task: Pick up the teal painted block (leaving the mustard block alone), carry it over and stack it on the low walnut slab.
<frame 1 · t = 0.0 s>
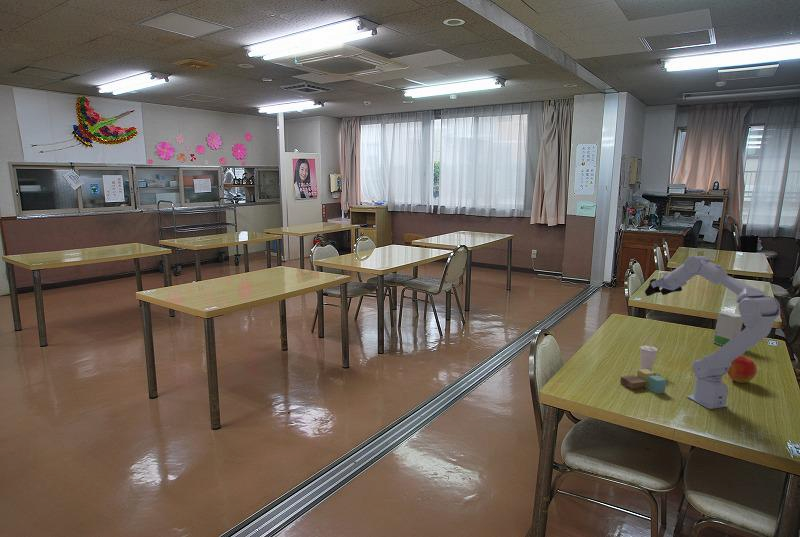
hand: (654, 293, 185), 32 cm above the table, tool tilted 50°, fingers open, 7 cm apart
mustard block: (644, 383, 178), on the table
teal block: (655, 390, 172), on the table
apple: (738, 381, 182), on the table
smoothie: (645, 371, 190), on the table
skincare box: (725, 345, 222), on the table
walnut slab: (632, 386, 176), on the table
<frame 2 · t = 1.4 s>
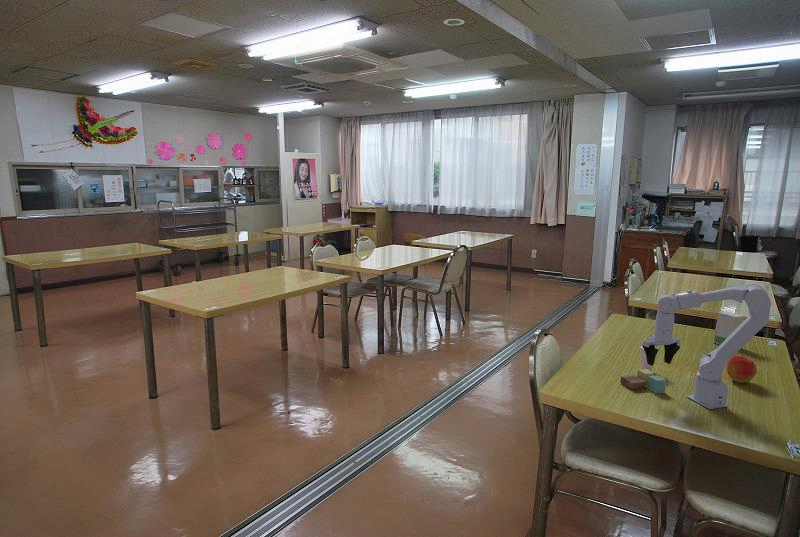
hand: (658, 363, 170), 10 cm above the table, tool pointing down, fingers open, 7 cm apart
nothing on the table moved.
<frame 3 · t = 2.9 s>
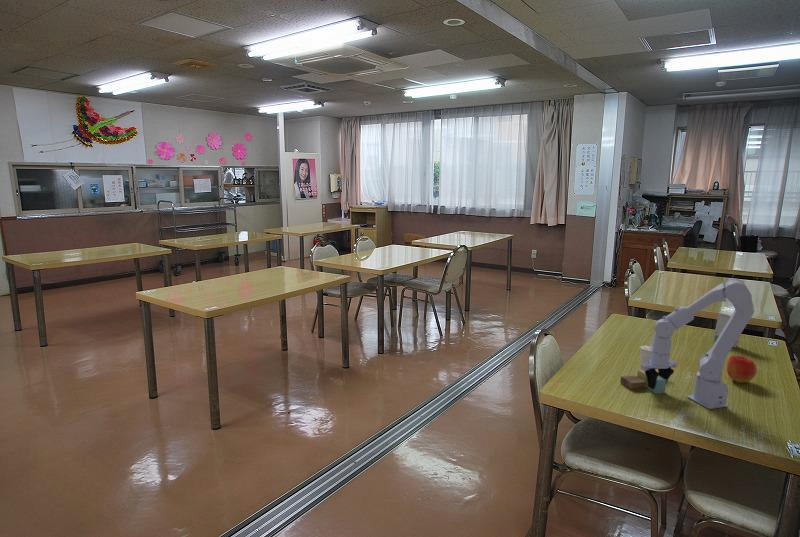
hand: (656, 386, 172), 1 cm above the table, tool pointing down, fingers closed on teal block, 4 cm apart
teal block: (655, 390, 172), on the table, touching gripper
everything else where it was.
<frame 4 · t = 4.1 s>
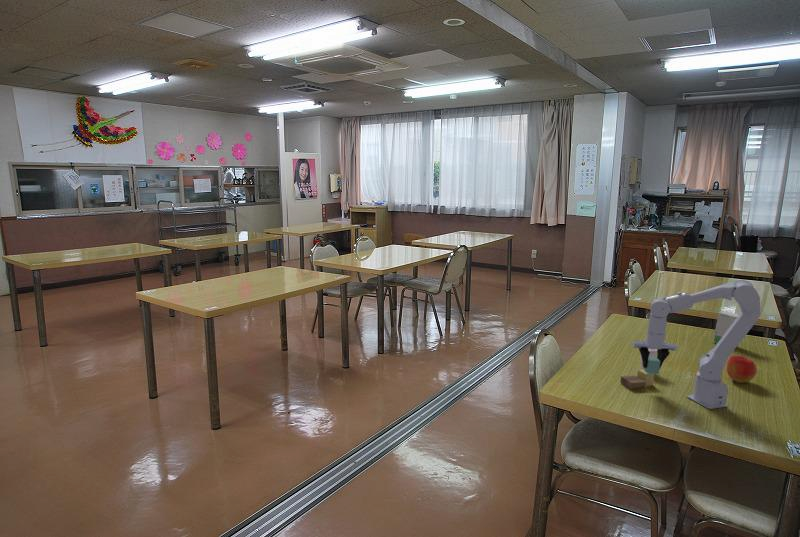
hand: (651, 367, 172), 9 cm above the table, tool pointing down, fingers closed on teal block, 4 cm apart
teal block: (650, 371, 172), point 7 cm above the table, touching gripper
everything else where it was.
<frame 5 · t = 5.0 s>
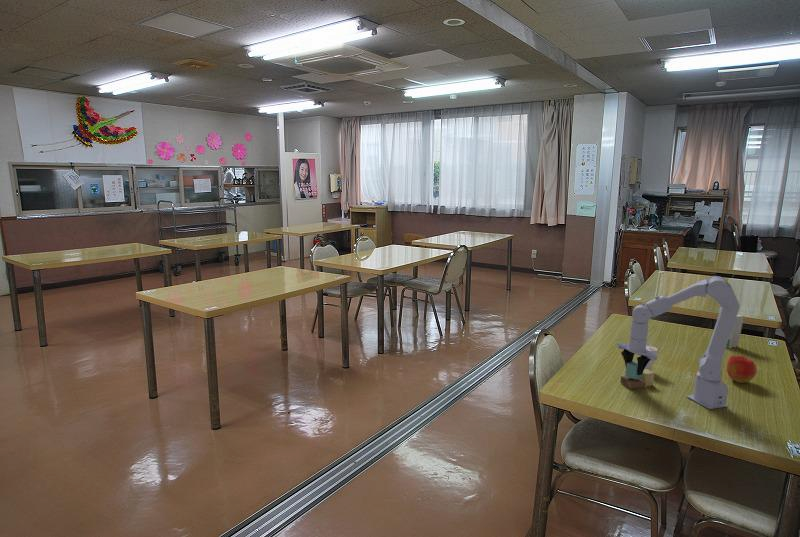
hand: (634, 372, 175), 5 cm above the table, tool pointing down, fingers closed on teal block, 4 cm apart
teal block: (633, 376, 175), point 4 cm above the table, touching gripper
everything else where it was.
when the fingers open (5 cm above the table, at t = 5.4 s): teal block drops 1 cm, point 3 cm above the table.
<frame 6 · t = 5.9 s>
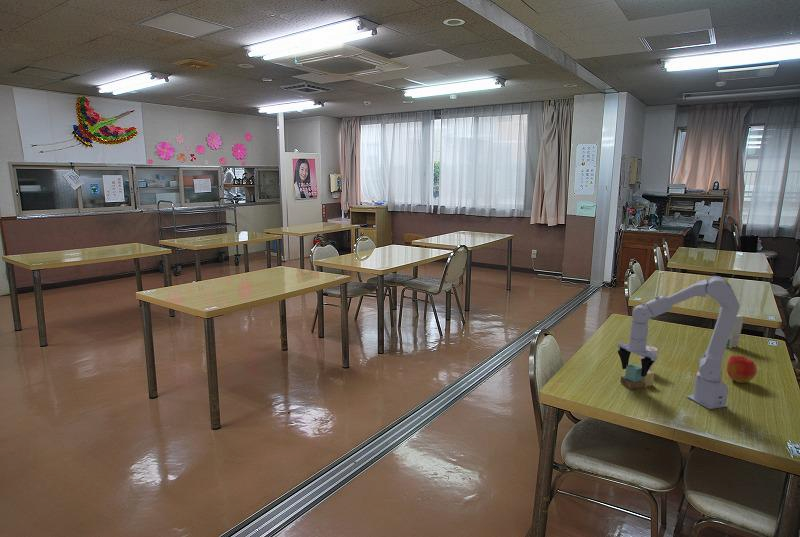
hand: (634, 372, 175), 5 cm above the table, tool pointing down, fingers open, 7 cm apart
teal block: (633, 379, 175), point 3 cm above the table
everything else where it was.
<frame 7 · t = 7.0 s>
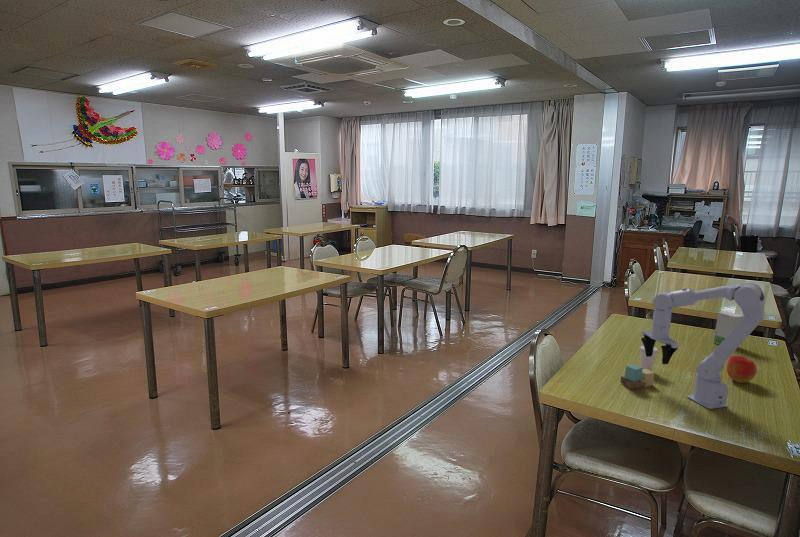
hand: (656, 360, 174), 10 cm above the table, tool pointing down, fingers open, 7 cm apart
nothing on the table moved.
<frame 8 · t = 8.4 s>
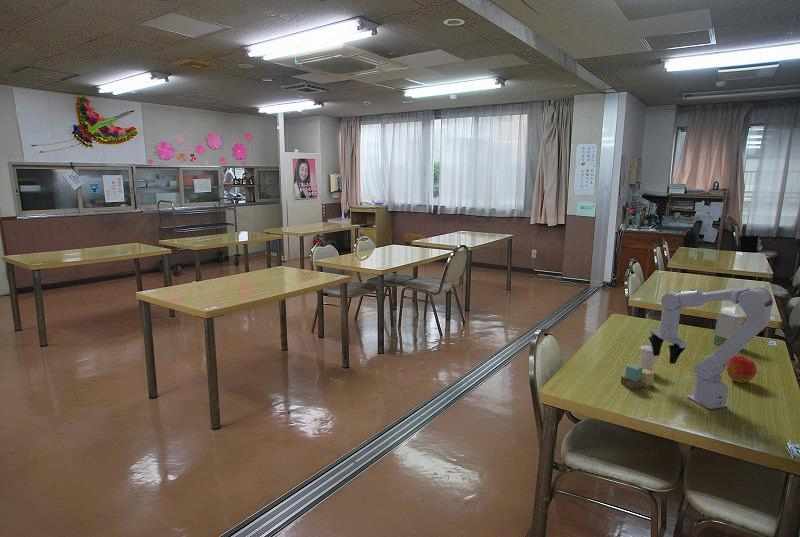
hand: (664, 359, 175), 10 cm above the table, tool pointing down, fingers open, 7 cm apart
teal block: (633, 379, 176), point 3 cm above the table, touching walnut slab
walnut slab: (632, 386, 176), on the table, touching teal block
everything else where it was.
at the end: teal block 0.1 cm off-centre on the walnut slab, point 3.0 cm above the walnut slab's base; teal block tilted 1°; the gripper is holding nothing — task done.
